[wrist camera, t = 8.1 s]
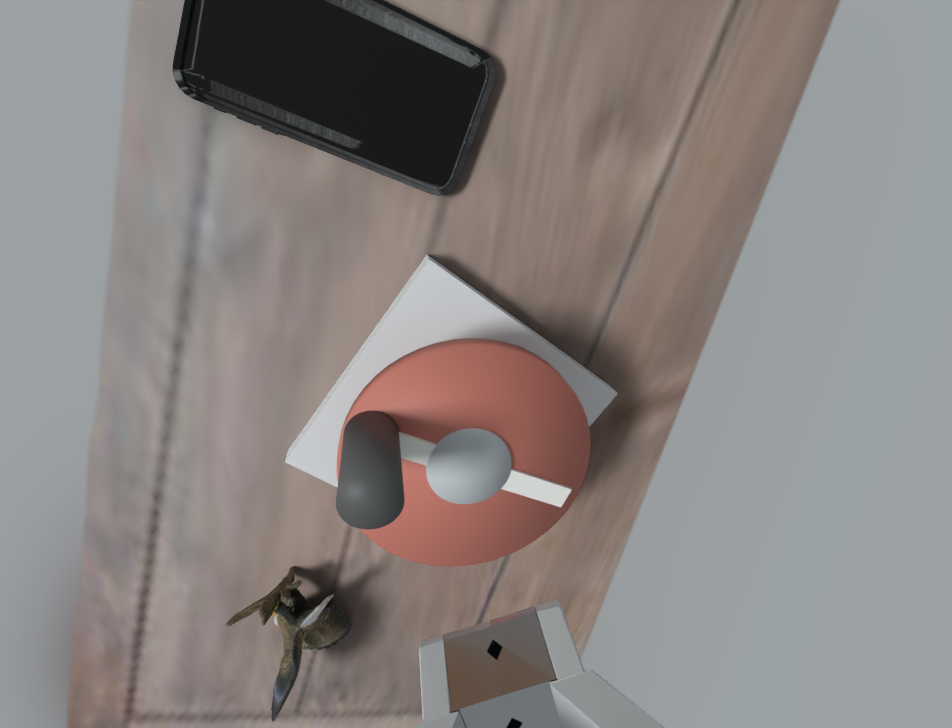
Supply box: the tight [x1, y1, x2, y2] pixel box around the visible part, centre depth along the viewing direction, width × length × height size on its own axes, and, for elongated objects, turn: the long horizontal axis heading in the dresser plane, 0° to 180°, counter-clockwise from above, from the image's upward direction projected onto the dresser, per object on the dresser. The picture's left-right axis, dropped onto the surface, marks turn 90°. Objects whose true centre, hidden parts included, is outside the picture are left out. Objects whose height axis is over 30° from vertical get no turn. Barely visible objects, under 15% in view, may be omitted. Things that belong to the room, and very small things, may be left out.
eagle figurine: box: [226, 567, 351, 721], centre depth 38 cm, size 8×7×9 cm
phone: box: [173, 0, 496, 196], centre depth 27 cm, size 8×1×15 cm
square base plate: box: [285, 255, 618, 487], centre depth 34 cm, size 16×16×4 cm
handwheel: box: [336, 338, 591, 566], centre depth 29 cm, size 15×15×7 cm
